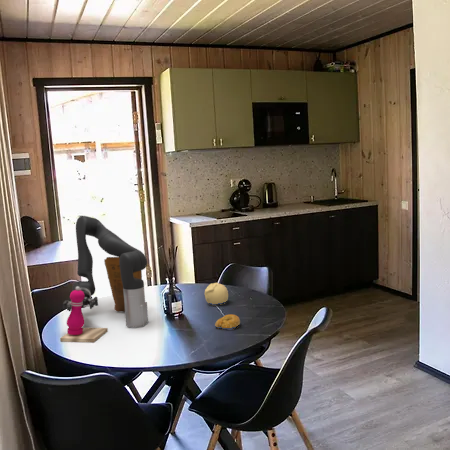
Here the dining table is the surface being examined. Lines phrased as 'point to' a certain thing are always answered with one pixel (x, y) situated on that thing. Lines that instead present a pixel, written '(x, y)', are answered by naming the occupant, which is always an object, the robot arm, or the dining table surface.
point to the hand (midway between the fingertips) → (80, 307)
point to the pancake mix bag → (117, 281)
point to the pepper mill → (76, 313)
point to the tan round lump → (216, 293)
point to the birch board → (85, 335)
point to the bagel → (228, 321)
